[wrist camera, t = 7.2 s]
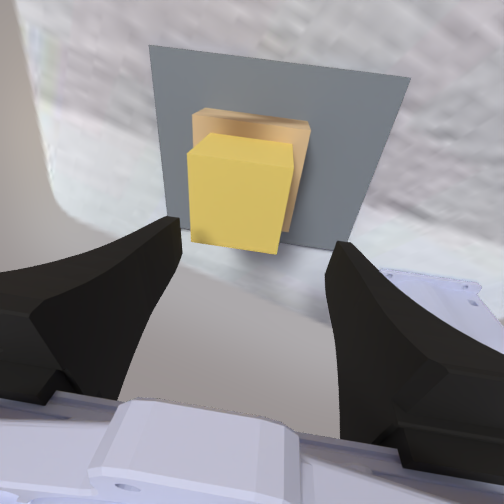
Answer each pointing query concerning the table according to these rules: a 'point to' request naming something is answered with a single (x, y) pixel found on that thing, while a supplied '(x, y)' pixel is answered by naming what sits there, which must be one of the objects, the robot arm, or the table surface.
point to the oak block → (258, 129)
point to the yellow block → (239, 191)
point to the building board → (284, 106)
